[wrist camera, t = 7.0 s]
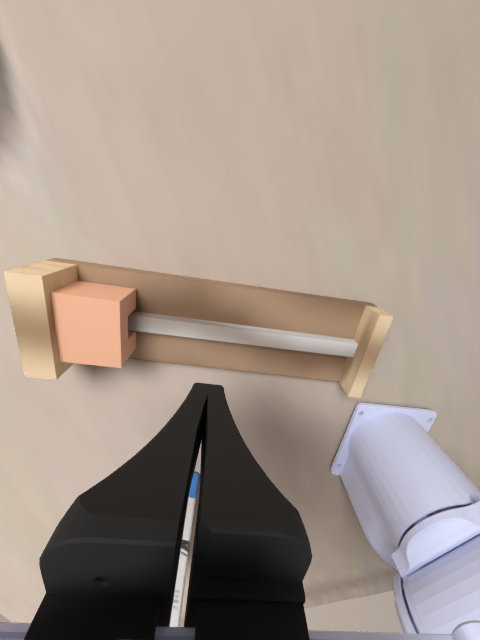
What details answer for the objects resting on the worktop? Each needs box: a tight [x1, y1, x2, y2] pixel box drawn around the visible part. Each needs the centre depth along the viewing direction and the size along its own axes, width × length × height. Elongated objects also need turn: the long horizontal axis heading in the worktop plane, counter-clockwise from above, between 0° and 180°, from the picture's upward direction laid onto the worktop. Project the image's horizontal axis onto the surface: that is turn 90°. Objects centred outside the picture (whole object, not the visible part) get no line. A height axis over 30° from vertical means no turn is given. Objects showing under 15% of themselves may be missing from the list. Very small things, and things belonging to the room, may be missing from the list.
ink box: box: [170, 472, 199, 627], centre depth 23 cm, size 8×5×12 cm, turn 158°
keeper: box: [50, 281, 136, 368], centre depth 18 cm, size 5×4×3 cm
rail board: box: [4, 258, 393, 398], centre depth 19 cm, size 7×24×4 cm, turn 81°
